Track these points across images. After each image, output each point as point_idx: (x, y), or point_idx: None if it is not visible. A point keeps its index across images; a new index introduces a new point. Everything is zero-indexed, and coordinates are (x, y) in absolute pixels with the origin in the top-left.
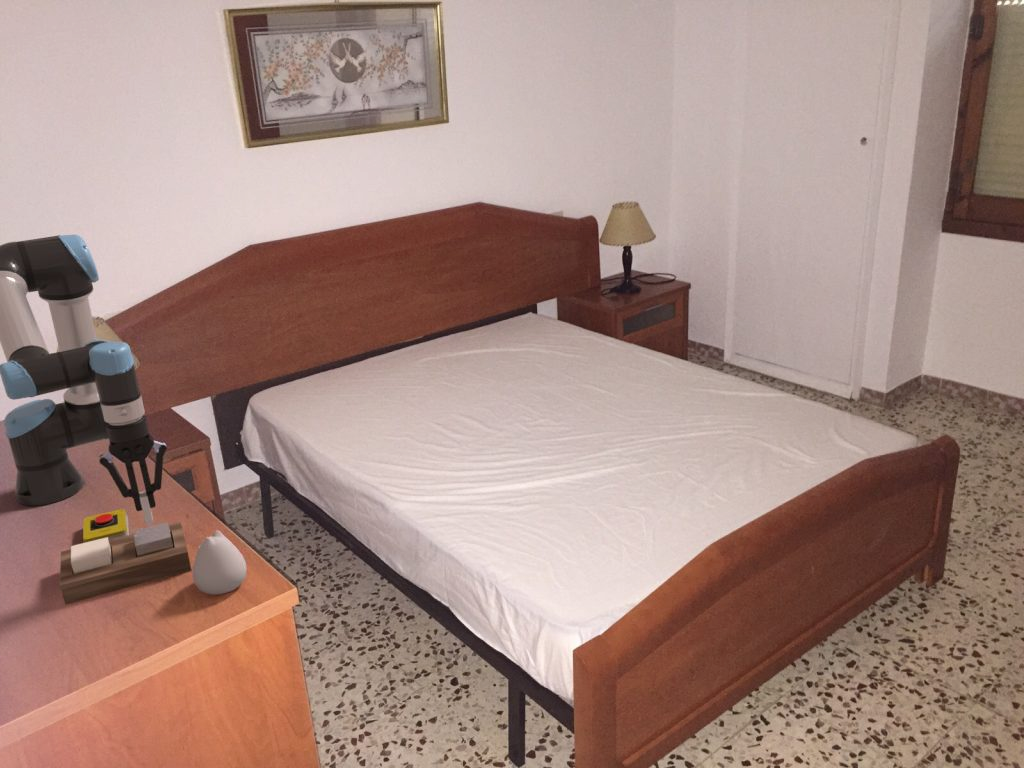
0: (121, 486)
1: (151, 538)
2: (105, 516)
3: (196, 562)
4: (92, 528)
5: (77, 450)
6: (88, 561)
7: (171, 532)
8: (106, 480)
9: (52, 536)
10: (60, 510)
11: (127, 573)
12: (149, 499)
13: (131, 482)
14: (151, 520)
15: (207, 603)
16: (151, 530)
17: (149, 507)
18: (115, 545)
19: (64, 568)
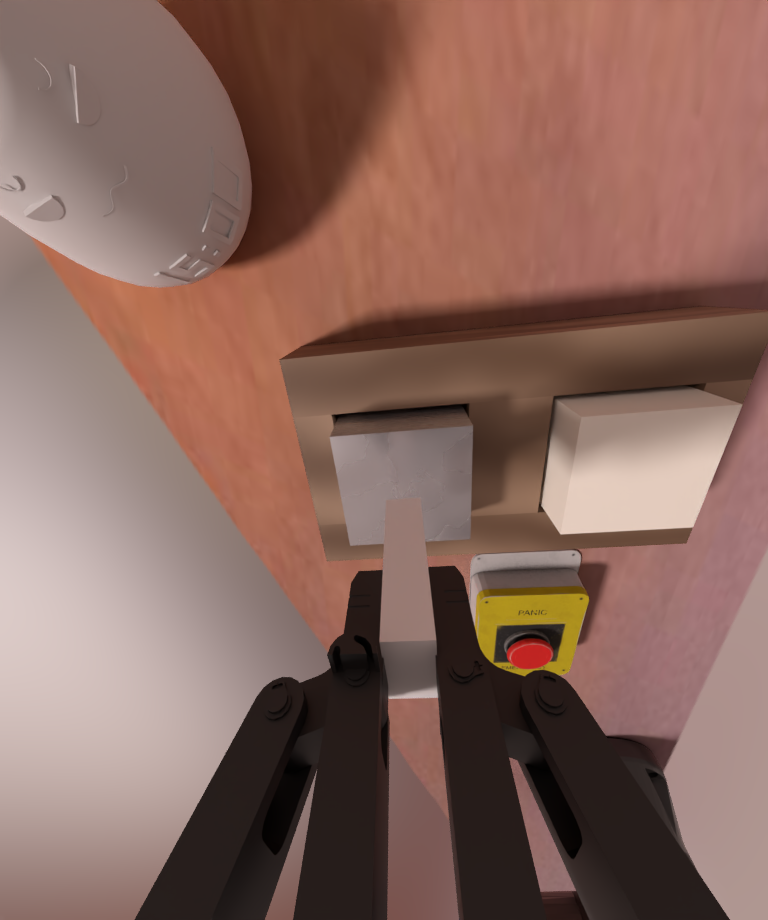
0: (628, 835)
1: (407, 458)
2: (525, 660)
3: (144, 60)
4: (558, 631)
5: (528, 832)
6: (659, 403)
7: None
8: None
9: (629, 645)
10: None
11: (505, 333)
12: (375, 621)
13: (512, 866)
14: (391, 512)
15: (204, 25)
16: None
17: (385, 567)
18: (526, 512)
19: None
